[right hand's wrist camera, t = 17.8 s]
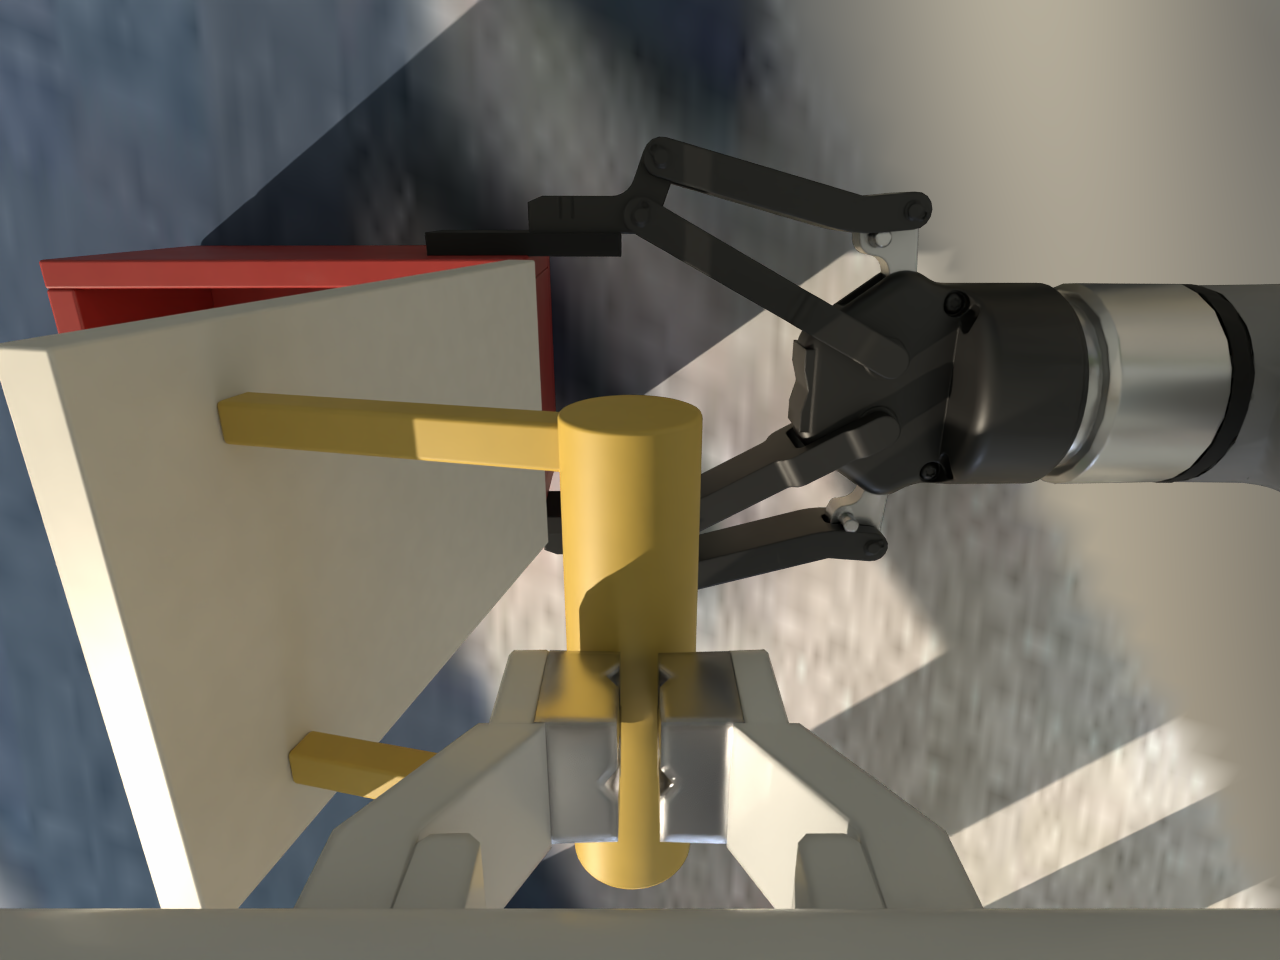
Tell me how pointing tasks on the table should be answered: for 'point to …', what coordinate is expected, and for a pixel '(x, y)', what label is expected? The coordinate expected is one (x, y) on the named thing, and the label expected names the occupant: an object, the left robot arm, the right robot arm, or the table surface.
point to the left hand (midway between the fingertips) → (448, 386)
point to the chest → (252, 283)
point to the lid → (339, 547)
